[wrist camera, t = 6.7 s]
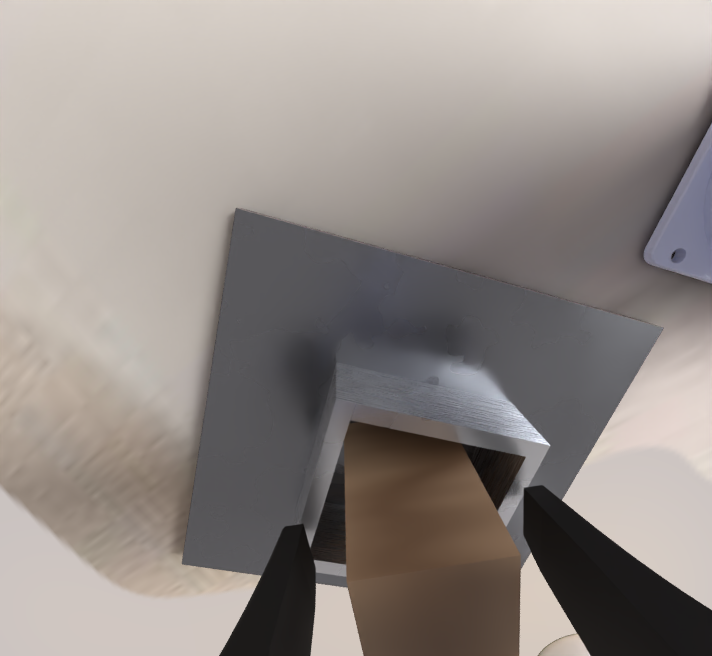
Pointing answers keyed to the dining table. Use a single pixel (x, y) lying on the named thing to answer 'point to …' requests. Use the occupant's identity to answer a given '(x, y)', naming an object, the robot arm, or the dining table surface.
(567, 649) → the drinking glass
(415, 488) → the rail end post
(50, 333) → the dining table surface
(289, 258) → the grey square socket base
